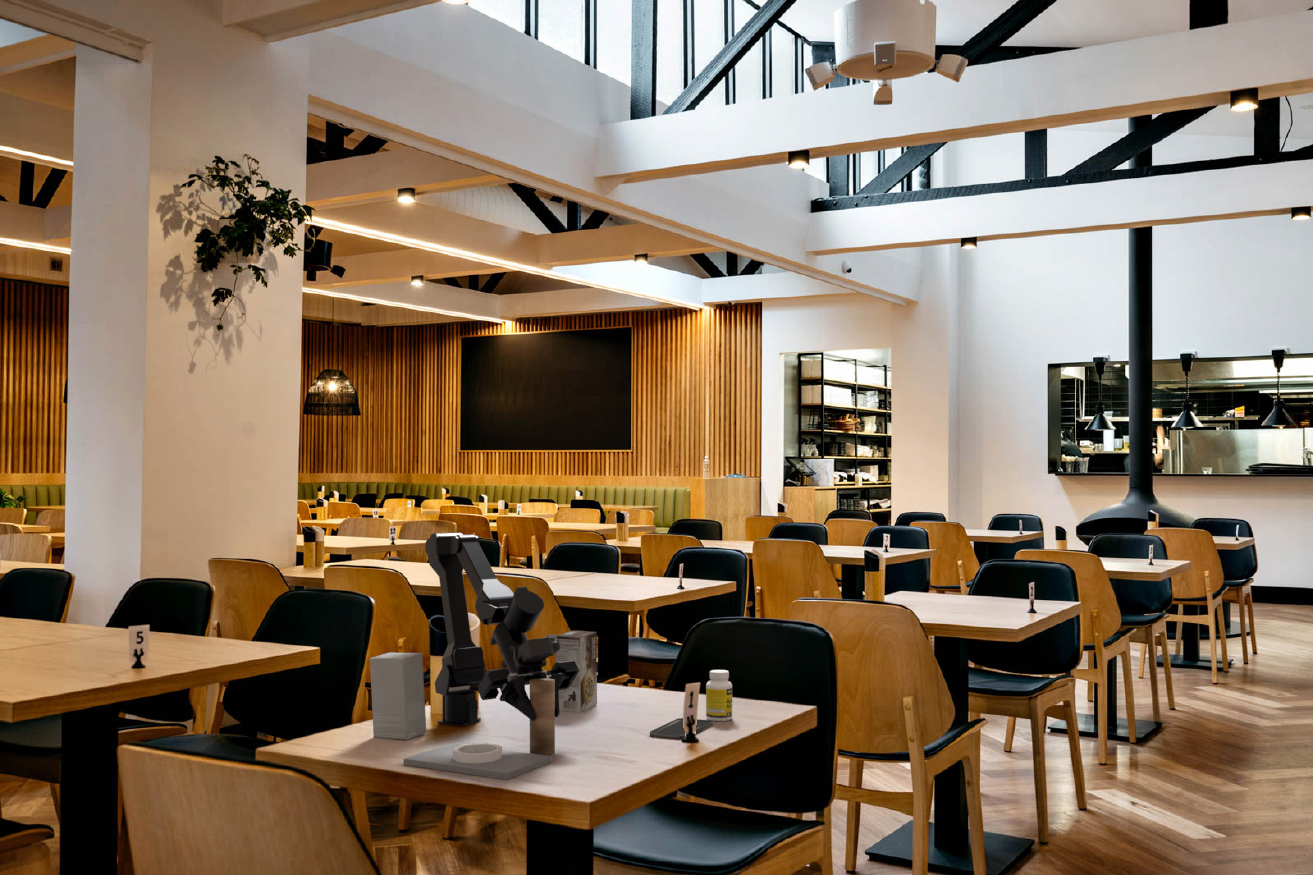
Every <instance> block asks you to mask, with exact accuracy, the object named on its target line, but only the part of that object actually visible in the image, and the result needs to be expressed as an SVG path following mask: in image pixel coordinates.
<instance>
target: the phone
mask: <svg viewBox="0 0 1313 875" xmlns="http://www.w3.org/2000/svg"><path fill="white" fill-rule="evenodd" d="M683 718H684V717H681V718H679V717H678V718H675V719H673V720H672V721H669V722H667V723H666V724H662V725H661V726H658V727H657V728H655V729H652V730H650V731H649V737H650V738H657V739H658V738H659V739H668V740H679V741H684V738H685V731H684V728H683ZM712 726H714V721H711V720H708V719H699V718H697V725H696V735H697V734H700V733H701V732H703V731H705V730H707V729H709V728H711V727H712Z"/></svg>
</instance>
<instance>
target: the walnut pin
mask: <svg viewBox="0 0 1313 875" xmlns="http://www.w3.org/2000/svg"><path fill="white" fill-rule="evenodd" d="M529 700H530V702H531V704H532V706H533V709H534V711H535V715H536V719H535V721H532V720H531V719H529V753H531V754H539V755H547V756H553V755H555V754H556V717H555V680H554V679H549V678H539V679H532V680H530V685H529Z"/></svg>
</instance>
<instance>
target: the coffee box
mask: <svg viewBox="0 0 1313 875" xmlns="http://www.w3.org/2000/svg"><path fill="white" fill-rule="evenodd" d="M556 637H557V639H558V641H559V644H560V650H559V651H557V652H556V653H554V659H555V660H554V662H555V663H556V662H561V661H569V660H572V661H575V662H576V664H577V666H578V668H579V670H580V671H579V672H578V674H577V676H576V677H575V679H574V681H573V682H572V684H571V686H570V687H569V688H567V689H564V690H559V712H570V713H571V712H575V713H583V712H584V711H587V710H589V709H591V708H592V707H594V706H595V705H597V704H598V681H597V680H598V679H597V678H598V677H597V674H598V672H597V671H598V670H597V669H598V667H597V664H598V663H597V661H598V660H597V653H598V652H597V632H596V631H587V630H585V631H584V630H569V631H567V632H563V633H560V634H557V635H556ZM555 663H554V664H555Z"/></svg>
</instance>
